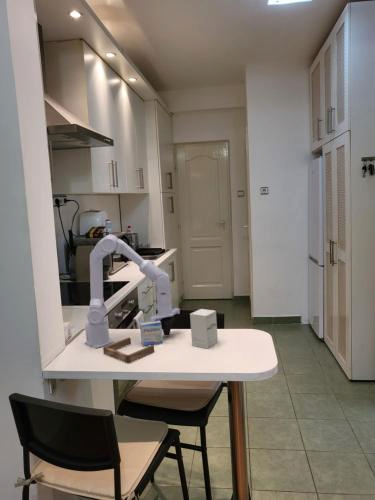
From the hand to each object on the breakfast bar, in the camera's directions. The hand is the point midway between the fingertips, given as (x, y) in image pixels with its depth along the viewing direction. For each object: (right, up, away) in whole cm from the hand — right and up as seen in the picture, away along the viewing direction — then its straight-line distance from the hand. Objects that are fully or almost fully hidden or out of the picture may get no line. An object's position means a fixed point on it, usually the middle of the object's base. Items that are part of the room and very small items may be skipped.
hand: (166, 334), depth 166 cm
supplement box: (+15, -2, -10) cm, 18 cm away
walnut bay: (-14, -4, -14) cm, 20 cm away
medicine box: (-5, -2, -5) cm, 8 cm away
